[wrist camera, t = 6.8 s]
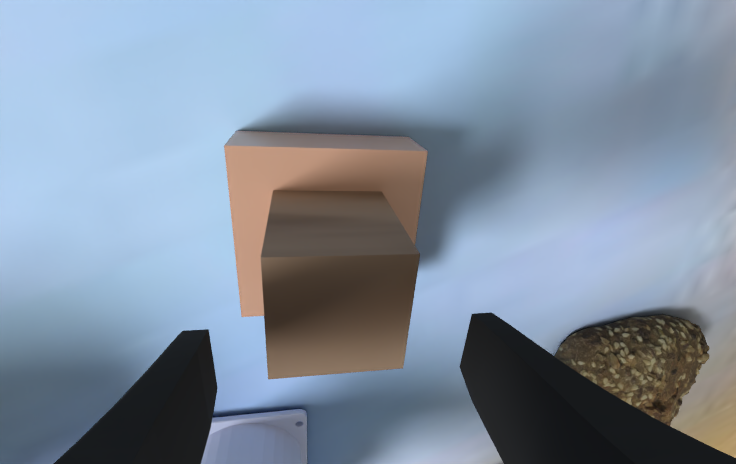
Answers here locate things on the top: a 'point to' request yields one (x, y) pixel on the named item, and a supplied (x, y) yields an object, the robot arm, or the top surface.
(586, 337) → the bread roll
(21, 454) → the top surface
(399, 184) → the terracotta tile
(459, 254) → the top surface
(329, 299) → the walnut block
